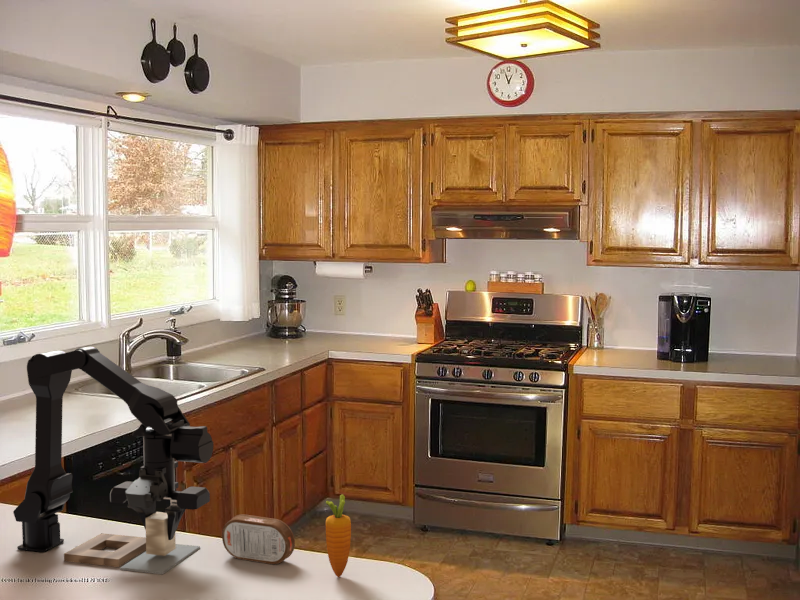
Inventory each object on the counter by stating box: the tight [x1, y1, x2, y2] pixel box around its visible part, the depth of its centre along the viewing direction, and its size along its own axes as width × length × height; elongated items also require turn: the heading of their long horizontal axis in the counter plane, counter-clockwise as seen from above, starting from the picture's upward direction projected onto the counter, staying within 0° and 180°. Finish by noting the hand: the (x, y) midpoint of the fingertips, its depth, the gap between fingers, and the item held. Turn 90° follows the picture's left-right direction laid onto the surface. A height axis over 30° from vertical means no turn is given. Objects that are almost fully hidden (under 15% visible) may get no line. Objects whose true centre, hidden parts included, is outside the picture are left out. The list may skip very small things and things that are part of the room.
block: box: [145, 511, 177, 556], centre depth 164 cm, size 4×4×7 cm
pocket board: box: [63, 532, 146, 568], centre depth 168 cm, size 12×12×2 cm
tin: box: [221, 513, 296, 565], centre depth 163 cm, size 15×3×8 cm, turn 69°
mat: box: [119, 543, 201, 575], centre depth 165 cm, size 9×14×1 cm, turn 165°
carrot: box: [325, 494, 352, 578], centre depth 154 cm, size 5×5×15 cm
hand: (160, 538), depth 164 cm, fingers closed on block, 4 cm apart
